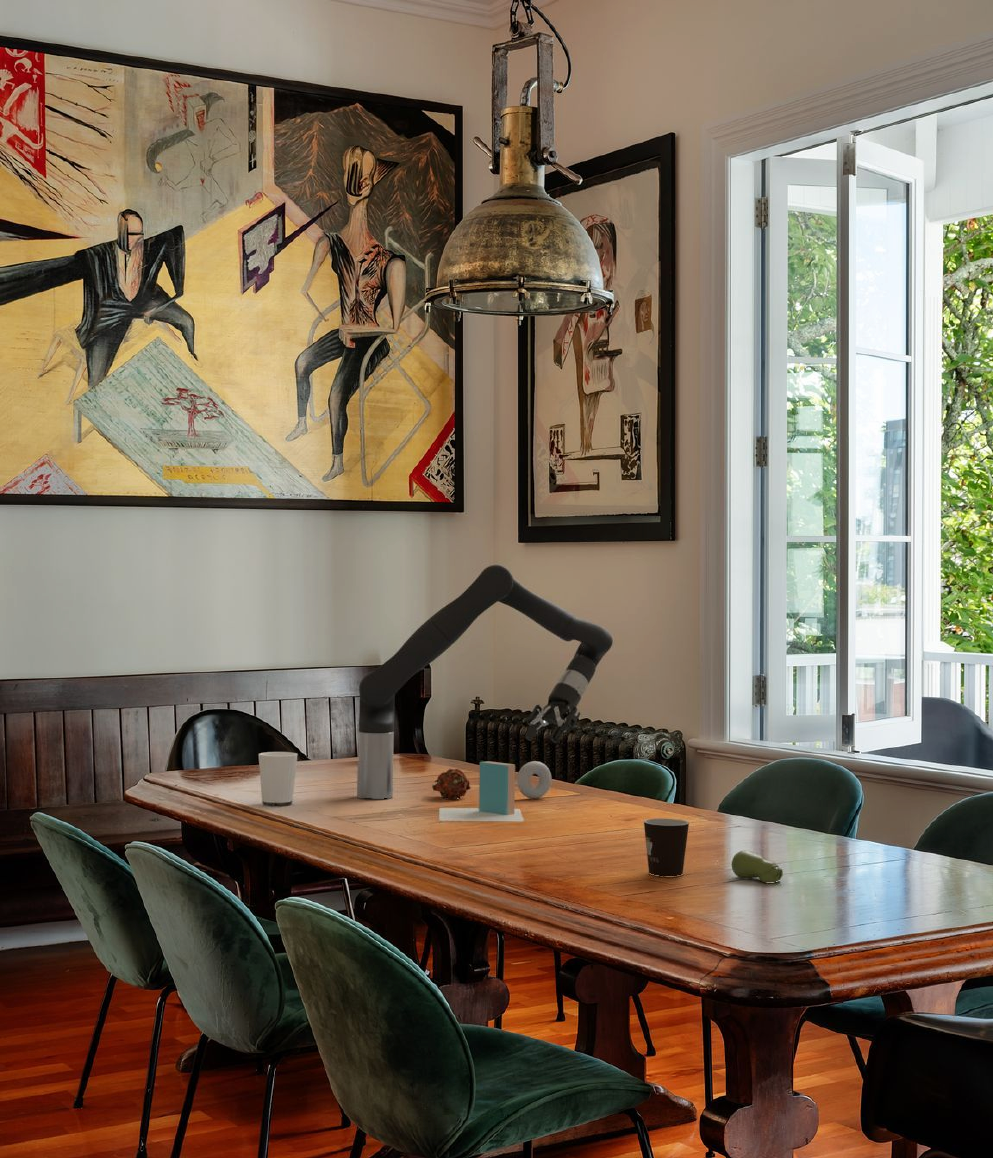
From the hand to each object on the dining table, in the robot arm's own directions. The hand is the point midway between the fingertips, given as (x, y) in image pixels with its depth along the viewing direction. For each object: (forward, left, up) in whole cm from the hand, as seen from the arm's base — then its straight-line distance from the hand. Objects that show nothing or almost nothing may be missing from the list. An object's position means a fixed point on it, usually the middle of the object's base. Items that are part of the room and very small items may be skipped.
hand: (540, 739), depth 346 cm
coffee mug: (+19, -83, -17) cm, 87 cm away
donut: (0, +16, -17) cm, 23 cm away
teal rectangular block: (-11, -11, -17) cm, 23 cm away
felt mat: (-15, -15, -17) cm, 27 cm away
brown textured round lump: (-22, +16, -17) cm, 32 cm away
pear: (+35, -89, -18) cm, 98 cm away
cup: (-66, +2, -17) cm, 69 cm away
